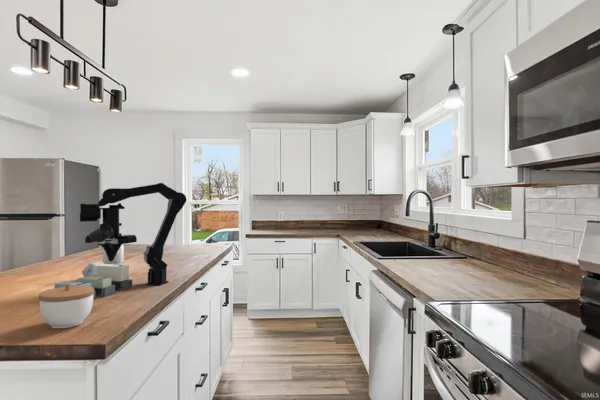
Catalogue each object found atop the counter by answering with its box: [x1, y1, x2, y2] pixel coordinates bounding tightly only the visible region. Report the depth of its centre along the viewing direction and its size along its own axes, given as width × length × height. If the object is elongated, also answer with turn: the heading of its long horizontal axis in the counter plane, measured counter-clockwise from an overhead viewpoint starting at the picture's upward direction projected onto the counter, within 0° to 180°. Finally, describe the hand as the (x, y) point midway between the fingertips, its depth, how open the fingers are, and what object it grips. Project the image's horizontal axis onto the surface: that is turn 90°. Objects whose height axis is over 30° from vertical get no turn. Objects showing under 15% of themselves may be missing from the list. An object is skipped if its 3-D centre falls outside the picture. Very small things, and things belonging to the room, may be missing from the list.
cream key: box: [97, 264, 130, 281], centre depth 135 cm, size 11×4×6 cm, turn 77°
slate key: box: [54, 281, 92, 288], centre depth 117 cm, size 11×4×6 cm, turn 77°
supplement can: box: [102, 244, 125, 265], centre depth 153 cm, size 8×8×15 cm
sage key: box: [76, 276, 111, 288], centre depth 126 cm, size 11×4×6 cm, turn 77°
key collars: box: [93, 278, 133, 301], centre depth 126 cm, size 13×24×3 cm, turn 167°
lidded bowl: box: [38, 284, 94, 329], centre depth 95 cm, size 13×13×11 cm
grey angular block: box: [81, 261, 104, 277], centre depth 145 cm, size 8×9×10 cm
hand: (111, 261), depth 134 cm, fingers closed
